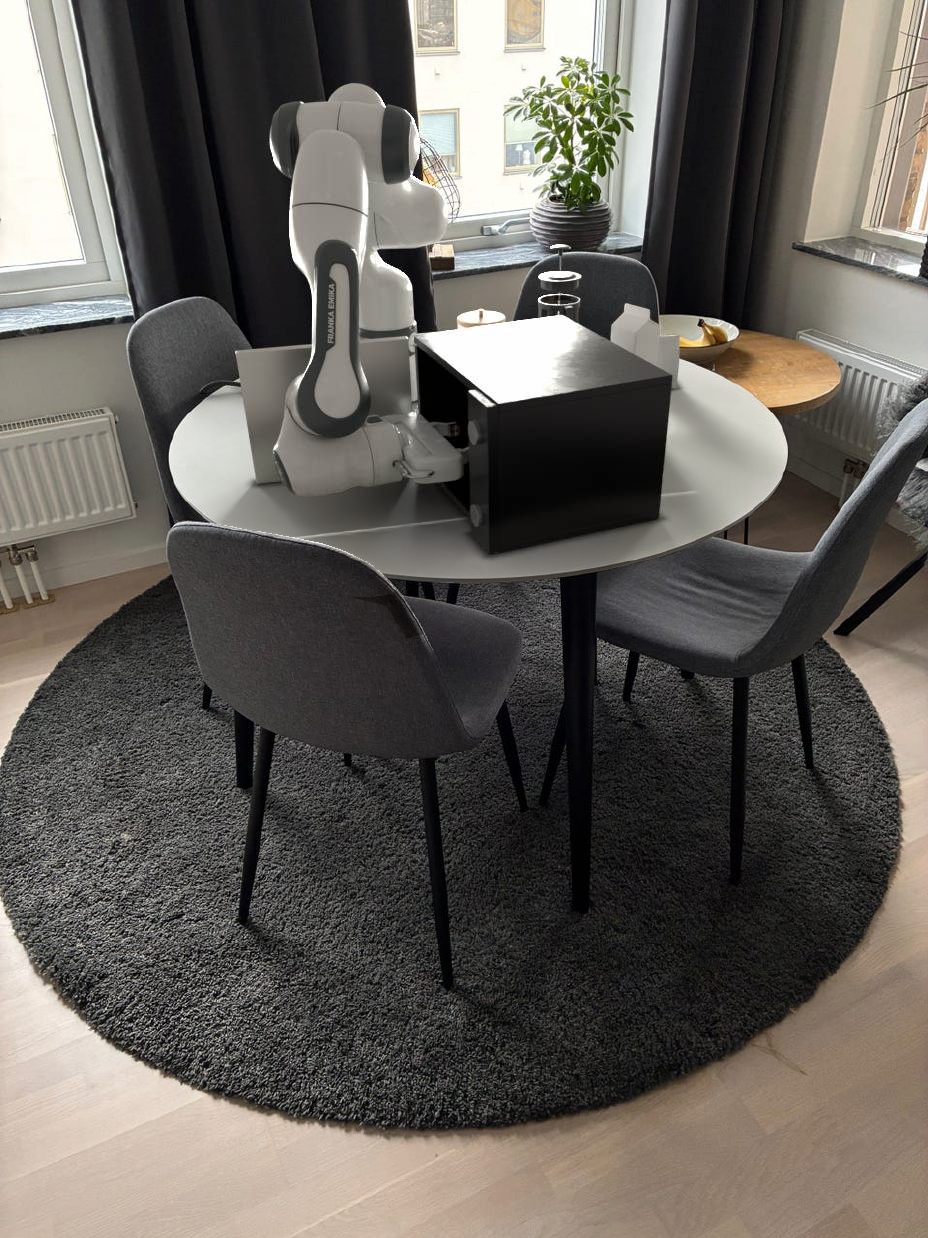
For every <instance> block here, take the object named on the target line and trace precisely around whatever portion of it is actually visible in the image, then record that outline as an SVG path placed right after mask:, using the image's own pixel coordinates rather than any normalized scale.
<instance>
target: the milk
mask: <svg viewBox="0 0 928 1238" xmlns="http://www.w3.org/2000/svg"><path fill="white" fill-rule="evenodd" d="M623 306H624V308H623V312H622V313H621V314H620V316H618V317H617V319H616V320H615V321H613V323H612V324H611V325H610V326H611V327H610V341H611V342H613V343H615V344H616V345H618V346H620V347H622V348H624V349H626V350H627V351H629V352H631V353H633V354H635V355H637V356H639V357H640V358H642V359H644V360H646V361H648V362H650V363H651V364H653V365H655V366H657V363H658V352H659V340H660V336H661V328H662V326H661V325H660V324H659V323H657V322H656V321H654V320H652V319H651V310H650V309H649V308H645V307H642V306H638V305H634V304H630V303H626V302H625V303H624V305H623Z"/></svg>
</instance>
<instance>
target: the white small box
mask: <svg viewBox="0 0 928 1238" xmlns="http://www.w3.org/2000/svg"><path fill="white" fill-rule="evenodd" d="M680 337H681V336H680V334H673V335H669V334H668V335H660V340H659V352H658V363H657V367H659V368H661V369H662V370H664V371H666V372H668V373H670V374H672V375H673V378H672V388H671V389H677V388H678V377H679V367H680Z"/></svg>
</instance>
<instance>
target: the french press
mask: <svg viewBox="0 0 928 1238" xmlns="http://www.w3.org/2000/svg"><path fill="white" fill-rule="evenodd" d="M550 249H551V250H553V251H557V255H558V257H559V261H558V262H559V265H558V271H557V270H556V271H547V272H544V273H540V274H539V275H538V279H539V280H540V288H541V289H543V290H544V291H545V290H546V291H549V292H550V291H551V292H558V293H557V294H547V295H543V296H541V297H539V298H538V300H537V301H538V302H537V303H538V304H537V307H538V312H537V313H538V314H537V315H538V318H543V311H547V317H551V316H556V312H557V316H558V315H563V316H565V317H567V318H569V319H570V320H572V321H574V322H576V323H578V324H580V307H581V298H580V297H578V296H576V295H572V294H563V293H561V292H568V291H573V290H576V289H578V288H579V285H580V283H579V281H580V280H581V278H582V275H581V274H579V273H577V272H574V271H564V270H563V271H562V257H563V255H564V251H567V250H570V249H571V246H570V245H568V244H555V245H552V246H550ZM561 301H563V302H571V303H568V304H561ZM556 302H557V304H556ZM560 312H562V313H560Z"/></svg>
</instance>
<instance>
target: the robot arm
mask: <svg viewBox="0 0 928 1238" xmlns="http://www.w3.org/2000/svg"><path fill="white" fill-rule="evenodd" d="M415 122H416V121H415V119H414V118H413V116H412V115H411V114H410V113H409V111H408V110H406V109H404V108H402V107H400V106H397V105H392V104H389V103H388V104H387V105H385V103H384V102H383V100H382V98H381V96H380V95H379V93H377V92H376V91H375V89H373V88H372V87H370V86H369V85H366V84H363V83H357V82H356V83H355V82H354V83H353V82H351V83H348V84H344V85H342V86H340V87H338V88H337V89H336V90H335V91H334V92H333V93H331V95H330V96H329V98H328V101H314V102H303V101H302V100H299V101H298V100H297V101H290V102H287V103H284V104H281V105H280V106H279V107H278V109H277V110H276V111H275V112H274V114H273V116H272V120H271V126H270V130H269V147H270V151H271V154H272V157H273V162H274V165H275V166H276V168H277V169H278V170H279V171H280V172H281V174H283V175H284V177H287V178H289V179H291V180H292V182H291V191H290V198H289V199H290V200H289V221H288V222H289V223H288V224H289V225H288V226H289V241H290V242H289V243H290V250H291V255H292V260H293V262H294V264H295V266H296V267H297V268H298V270H299V271H300V272H301V273H302V274H303V275H304V276H305V278H306V279H307V281H308V284H309V287H310V290H311V299H312V315H311V316H312V318H311V319H312V321H311V322H312V323H311V325H312V326H311V344H312V354H311V359H310V362H309V365H308V367H307V369H306V371H305V372H304V373H302V374H300V375H299V376H297V377H296V378H295V379H294V380H293V381H292V382H291V383H290V385H289V387H288V389H287V392H286V397H285V410H284V419H283V424H282V428H281V432H280V435H279V438H278V441H277V443H276V445H275V446H274V448H273V453H272V455H273V460H274V465H275V468H276V470H277V473H278V475H279V478H280V480H281V481H280V483H282V485H283V486H284V488H285V489H286V490H287V491H288V492H289V493H291V494H293V495H294V496H297V497H318V496H325V495H331V494H332V495H333V494H338V493H343V492H346V491H348V490H350V489H352V488H355V487H364V488H366V487H367V488H370V487H375V486H382V485H386V484H392V483H396V482H397V483H398V482H401V481H402V479H403V478H404V479H411V480H412V481H413V482H414V483H416V484H422V485H423V484H425V485H427V484H438V482H447V481H454V480H458V479H460V478H461V477H462V476H463V475H464V464H466V463H467V462H469V447H467V448H464V449H461V448H457V449H455V448H454V447H453V446H452V445H451V444H450V443H449V442H448V441H447V440H446V439H445V438H444V437H443V436H449V437H454V436H459V435H460V426H459V425H458V424H457V423H456V422H452V423H439V422H431V423H429V422H428V421H427V420H426V419H425V418H424V417H423V416H422V415H421V414H418V412H417V413H416V412H413V413H402V414H393V415H387V416H383V417H381V418H380V417H379V416H378V415H370V416H368V414H369V411H370V405H371V396H370V390H369V386H368V383H367V380H366V378H365V375H364V372H363V369H362V366H361V362H360V355H359V340H367V339H378V338H390V337H402V336H407V338H408V345H409V361H410V378H411V395H412V403H413V402H415V401H416V402H417V401H418V400H417V382H416V365H415V347H414V335H418V328H417V327H418V326H417V321H416V320H415V313H414V295H413V294H414V293H413V284H412V282H411V280H410V278H409V277H408V276H407V275H406V274H405V273H404V272H402V271H401V270H400V269H398V268H396V267H394V266H391V265H390V264H387V263H386V262H384V261H383V259H382V258H381V257H380V255H379V253H378V250H391V249H393V250H395V249H396V250H397V249H417V248H422V247H425V246H431V245H433V244H438V243H439V242H440V241H441V240H442V238H443V237H444V235H445V234H446V231H447V230H448V229H447V228H448V225H449V219H450V215H449V214H450V213H449V206H448V203H447V201H446V199H445V196H444V195H443V193H442V192H441V191H440V190H439V189H438V188H437V187H435V186H434V185H433V186H432V185H430V184H428V183H425V182H424V181H421V180H420V179H418V178H416V177H415V176H413V174H414V171H415V167H416V165H417V164H418V163H417V162H418V160H419V156H420V155H419V154H420V138H419V132H418V129H417V126H416V123H415ZM219 386H220V387H221V386H228V387H238V388H241V383H240V381H233V380H215V381H212V382H209V383H207V384H205V385H204V386H202V388H201V389H200V390H199V392H198V393H199V394H205V393H206V392H207V391H208V390H210V389H212V388H215V387H219ZM364 422H365V427H361V426H362V425H363V423H364Z"/></svg>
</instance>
